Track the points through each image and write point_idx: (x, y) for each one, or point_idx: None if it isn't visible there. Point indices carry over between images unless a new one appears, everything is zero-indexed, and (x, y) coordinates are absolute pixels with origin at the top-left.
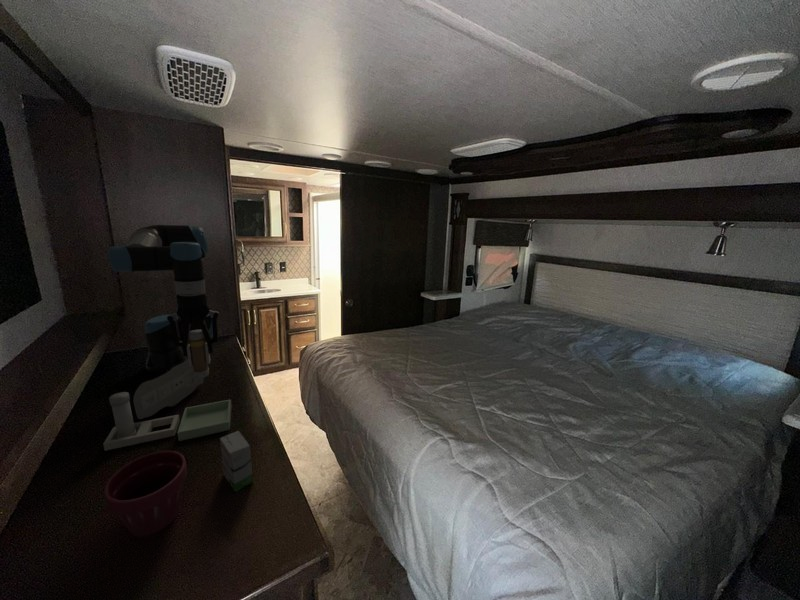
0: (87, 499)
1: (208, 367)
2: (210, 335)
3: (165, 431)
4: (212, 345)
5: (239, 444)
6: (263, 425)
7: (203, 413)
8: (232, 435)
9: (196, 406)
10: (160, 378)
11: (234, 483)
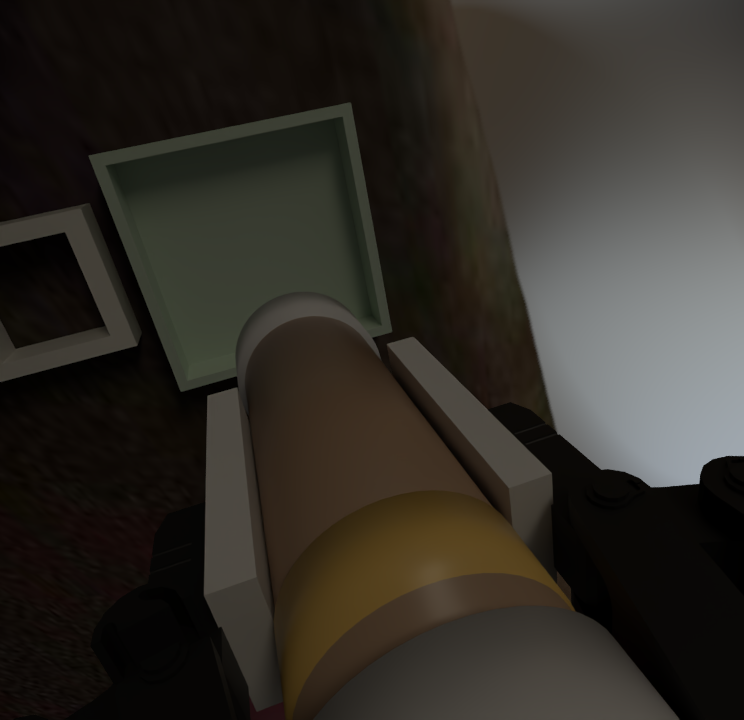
0: (36, 609)
1: (373, 341)
2: (719, 569)
3: (99, 354)
4: (580, 464)
5: None
6: (508, 303)
7: (206, 169)
8: None
9: (159, 152)
10: None
11: None
